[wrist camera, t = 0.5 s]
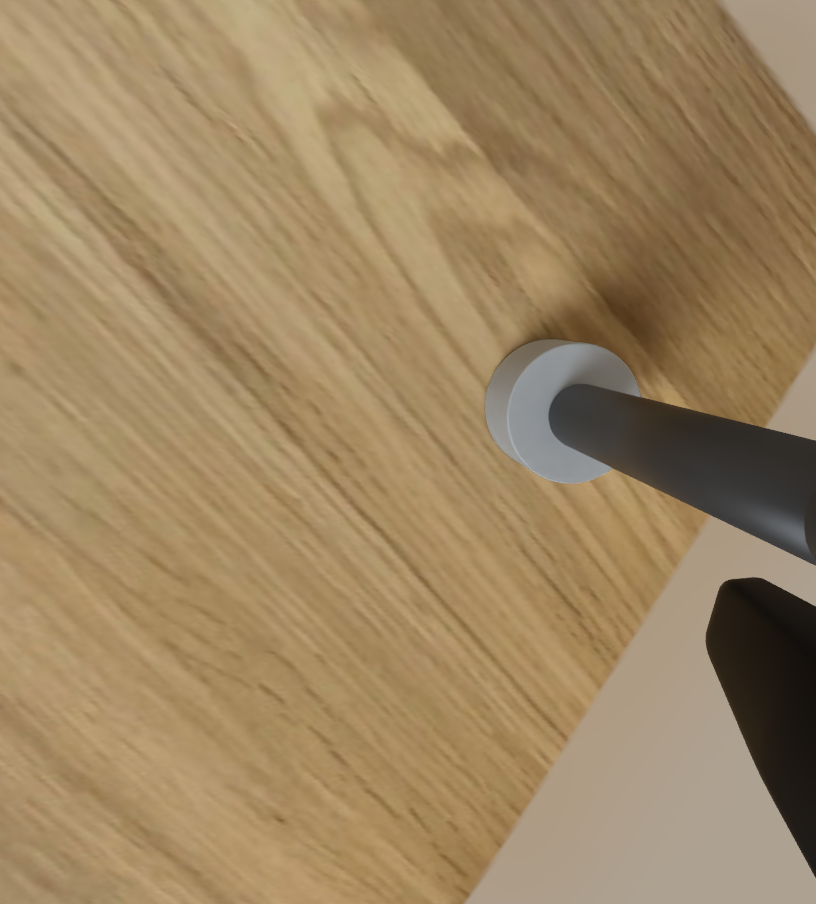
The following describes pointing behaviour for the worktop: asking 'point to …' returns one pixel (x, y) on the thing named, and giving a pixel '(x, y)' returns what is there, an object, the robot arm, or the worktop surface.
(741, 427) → the joystick
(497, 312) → the worktop surface
